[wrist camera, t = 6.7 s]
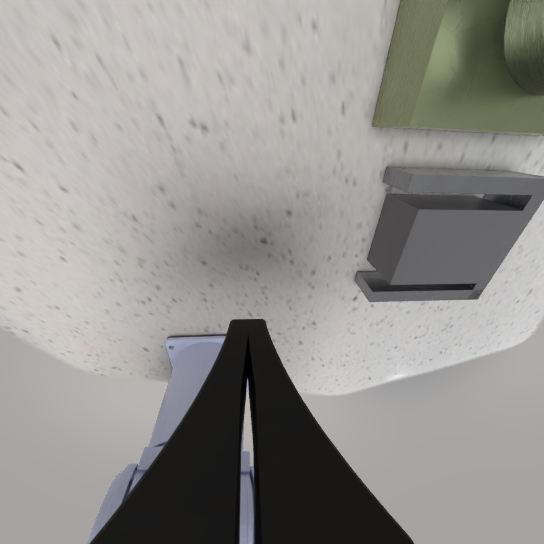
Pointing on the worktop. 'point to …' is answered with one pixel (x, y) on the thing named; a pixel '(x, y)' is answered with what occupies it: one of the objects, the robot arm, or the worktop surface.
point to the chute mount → (463, 109)
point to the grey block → (439, 238)
